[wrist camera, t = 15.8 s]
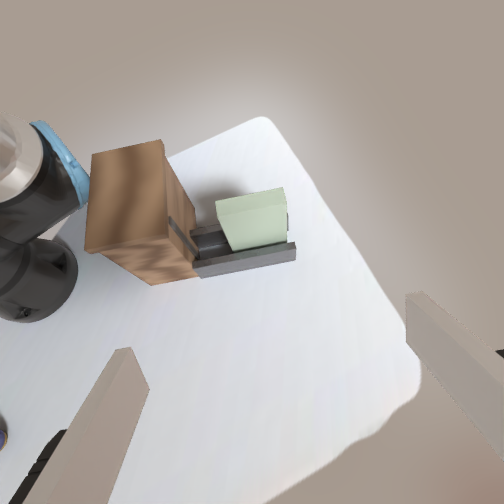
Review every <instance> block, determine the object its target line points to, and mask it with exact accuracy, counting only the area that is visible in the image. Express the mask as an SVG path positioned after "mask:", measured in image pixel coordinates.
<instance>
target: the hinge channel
mask: <svg viewBox="0 0 504 504" xmlns="http://www.w3.org/2000/svg"><path fill="white" fill-rule="evenodd" d="M287 231H288V214H287ZM189 233H190V238H191V239H192V240H193V242H194V243H195V245H196V246H197V247H198V249H199V248H204V247H209V246H214V245H219V244H224V243H229V242H228V240H227V237H226V235H225V233H224V231H223V228H222V226H221V224H217V225H212V226H207V227H202V228H198V229H193V230H189ZM294 260H296V246H295V242H290V243H285V244H280V245H275V246H270V247H265V248H260V249H255V250H250V251H245V252H240V253H235V254H230V255H225V256H220V257H215V258H210V259H205V260H200V261H195V262H192V269H193V270H194V271H195V272H196V273H197V275H198V276H199V277H200V278H201V279H202V278H207V277H212V276H218V275H223V274H228V273H233V272H238V271H243V270H248V269H253V268H259V267H264V266H269V265H274V264H279V263H284V262H289V261H294Z"/></svg>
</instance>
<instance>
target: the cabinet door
mask: <svg viewBox="0 0 504 504" xmlns="http://www.w3.org/2000/svg"><path fill="white" fill-rule="evenodd" d="M215 204H216V211H217V217H218V220H219V222H220V224H221V226H222V228H223V231H224V233H225V235H226V237H227V240H228V242H229V244H230V246H231V248H232V251H233V253H234V254H235V253H240V252H245V251H250V250H255V249H260V248H265V247H270V246H275V245H280V244H285V243H287V201H286V197H285V193H284V189H283V187H282V188H277V189H272V190H267V191H262V192H257V193H252V194H247V195H243V196H238V197H233V198H228V199H223V200H218V201H215Z"/></svg>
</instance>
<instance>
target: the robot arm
mask: <svg viewBox="0 0 504 504" xmlns="http://www.w3.org/2000/svg"><path fill="white" fill-rule="evenodd" d="M89 185H90V177H89V176H88V174H87V173H86V172H85V170H84V169H83V168H82V167H81V165H80V164H79V163H78V162H77V161H76V159H75V158H74V156H73V155H72V154H71V152H70V151H69V150H68V148H67V147H66V146H65V145H64V144H63V142H62V141H61V139H60V138H59V137H58V136H57V134H55V132H54V131H53V130H52V128H51V127H50V126H49V125H48V124H47V123H46V122H45V121H40V120H39V121H37V122H31V123H29V124H28V123H27V122H26V121H24V120H23V119H21V118H20V117H17V116H15V115H12V114H9V113H4V112H0V317H1V318H3V319H6V320H10V321H15V322H20V323H31V322H36V321H39V320H41V319H44V318H46V317H48V316H49V315H51V314H52V313H54V312H55V311H56V310H57V309H59V308H60V307H61V306H62V305H63V304H64V302H65V301H66V300H67V299H68V297H69V296H70V294H71V292H72V290H73V288H74V286H75V283H76V280H77V274H78V267H77V262H76V259H75V257H74V255H73V254H72V252H71V251H70V250H69V249H67V248H66V247H64V246H62V245H60V244H59V243H57V242H54V241H51V240H45V239H39V238H37V237H38V236H40V235H41V234H42V233H44V232H45V231H47V230H48V229H50V228H51V227H53V226H54V225H55V224H57V223H58V222H60V221H61V220H63V219H64V218H66V217H67V216H69V215H70V214H72V213H73V212H75V211H76V210H79V209H81V208H82V207H83V205H84V204H85V203H86V202H88V197H89ZM406 343H407V344H408V345H409V346H410V348H411V349H412V350H413V351H414V353H415V354H416V355H417V356H418V358H419V359H420V360H421V361H422V362H423V363H424V365H425V366H426V367H427V369H428V370H429V371H430V372H431V373H432V375H433V376H434V377H435V378H436V379H437V381H438V382H439V383H440V384H441V386H442V387H443V388H444V389H445V391H446V392H447V393H448V394H449V395H450V397H451V398H452V399H453V400H454V402H455V403H456V404H457V405H458V406H459V407H460V409H461V410H462V411H463V413H464V414H465V415H466V416H467V417H468V419H469V420H470V421H471V422H472V424H473V425H474V426H475V427H476V428H477V430H478V431H479V432H480V433H481V435H482V436H483V437H484V438H485V439H486V441H487V442H488V443H489V444H490V446H491V447H492V448H493V449H494V451H495V452H496V453H497V454H498V455H499V457H500V458H501V459H502V460H503V462H504V349H503V350H497V351H494V350H493V349H491V348H490V347H489V346H488V345H487V344H485V343H484V342H483V341H482V340H481V339H479V338H478V337H477V336H476V335H475V334H473V333H472V332H471V331H470V330H468V329H467V328H466V327H465V326H464V325H463V324H461V323H460V322H459V321H458V320H457V319H455V318H454V317H453V316H451V314H449V313H448V312H447V311H446V310H444V309H443V308H442V307H441V306H440V305H438V304H437V303H436V302H435V301H434V300H432V299H431V298H430V297H429V296H428V295H426V294H425V293H424V292H423V291H420V292H415V293H409V294H406ZM149 390H150V389H149V386H148V384H147V382H146V380H145V377H144V375H143V373H142V371H141V368H140V366H139V364H138V362H137V359H136V357H135V355H134V353H133V350H132V348H131V347H127V348H122V349H117V350H115V352H114V353H113V355H112V357H111V358H110V360H109V362H108V363H107V365H106V367H105V368H104V370H103V371H102V373H101V375H100V376H99V378H98V380H97V381H96V383H95V385H94V386H93V388H92V390H91V391H90V393H89V395H88V396H87V398H86V400H85V401H84V403H83V404H82V406H81V408H80V409H79V411H78V413H77V414H76V416H75V418H74V419H73V421H72V423H71V424H70V426H69V428H68V429H65V430H60V431H59V432H58V433H57V434H56V435H55V436H54V437H53V438H52V439H51V440H50V442H49V443H48V444H47V445H46V446H45V448H44V449H43V451H42V452H41V454H40V456H39V457H38V459H37V462H36V463H34V465H33V466H32V468H31V469H30V471H29V473H28V476H26V477H25V479H24V480H23V482H22V483H21V485H20V487H19V488H18V490H17V491H16V493H15V494H14V496H13V497H12V499H11V501H10V502H9V504H107V503H108V501H109V498H110V495H111V493H112V490H113V487H114V485H115V482H116V479H117V476H118V474H119V471H120V468H121V466H122V463H123V460H124V458H125V455H126V452H127V450H128V447H129V444H130V441H131V439H132V436H133V433H134V431H135V428H136V425H137V423H138V420H139V417H140V415H141V412H142V409H143V406H144V404H145V401H146V398H147V396H148V393H149Z"/></svg>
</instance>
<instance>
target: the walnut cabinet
mask: <svg viewBox="0 0 504 504" xmlns="http://www.w3.org/2000/svg"><path fill="white" fill-rule="evenodd" d="M193 229H196V218H195V208H194V206H193V205H192V203H191V201H190V199H189V198H188V196H187V194H186V192H185V190H184V189H183V187H182V185H181V183H180V182H179V180H178V178H177V176H176V175H175V173H174V171H173V169H172V167H171V166H170V164H169V162H168V160H167V159H166V157H165V150H164V144H163V142H162V141H161V139H160V140H156V141H151V142H146V143H141V144H137V145H132V146H128V147H123V148H118V149H114V150H109V151H105V152H100V153H95V154H92V161H91V173H90V185H89V197H88V209H87V221H86V234H85V246H84V250H85V251H86V252H88V253H90V254H93V253H98V252H99V253H101V254H102V255H104V256H105V257H107V258H109V259H110V260H112V261H113V262H115V263H116V264H118V265H119V266H121V267H123V268H124V269H126V270H127V271H129V272H130V273H132V274H133V275H135V276H137V277H138V278H140V279H141V280H143V281H144V282H146V283H147V284H149V285H151V286H152V285H157V284H163V283H168V282H173V281H178V280H183V279H188V278H193V277H198V275H197V273H196V272H195V271H194V270H193V269H192V262H195V261H200V260H199V249H198V247H197V246H196V245H195V243H194V242H193V240H192V239H191V238H190V233H189V230H193Z"/></svg>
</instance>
